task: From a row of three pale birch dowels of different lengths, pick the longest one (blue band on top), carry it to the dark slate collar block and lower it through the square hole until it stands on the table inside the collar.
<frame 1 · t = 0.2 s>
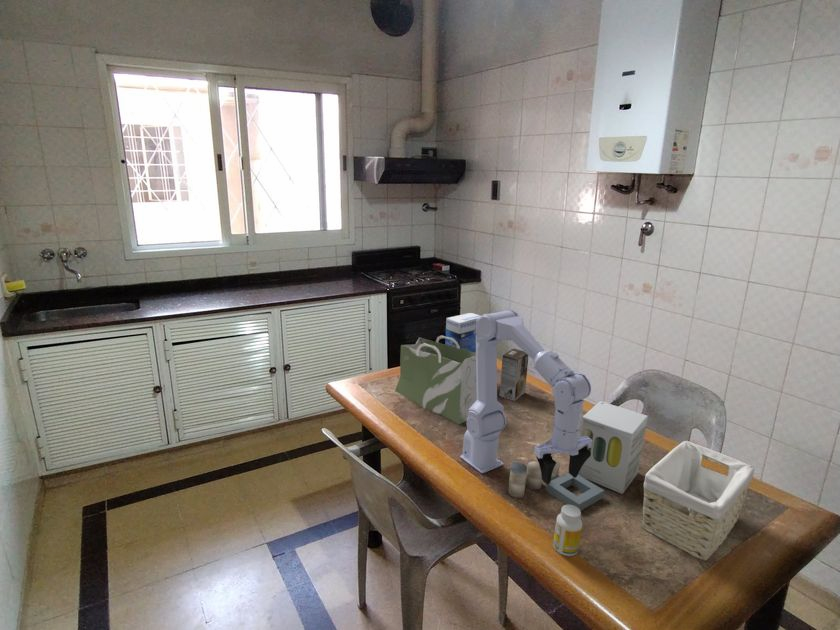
hand: (559, 478, 115), 10 cm above the table, tool pointing down, fingers open, 7 cm apart
string lights box: (461, 381, 191), on the table
supplement box: (605, 474, 135), on the table
long pin: (516, 492, 125), on the table
storage basket: (688, 524, 116), on the table
short pin: (550, 476, 133), on the table
collar block: (574, 494, 125), on the table
coffee box: (512, 395, 181), on the table
grocery bag: (436, 402, 173), on the table
medium pin: (533, 484, 129), on the table
supplement bottle: (565, 548, 107), on the table
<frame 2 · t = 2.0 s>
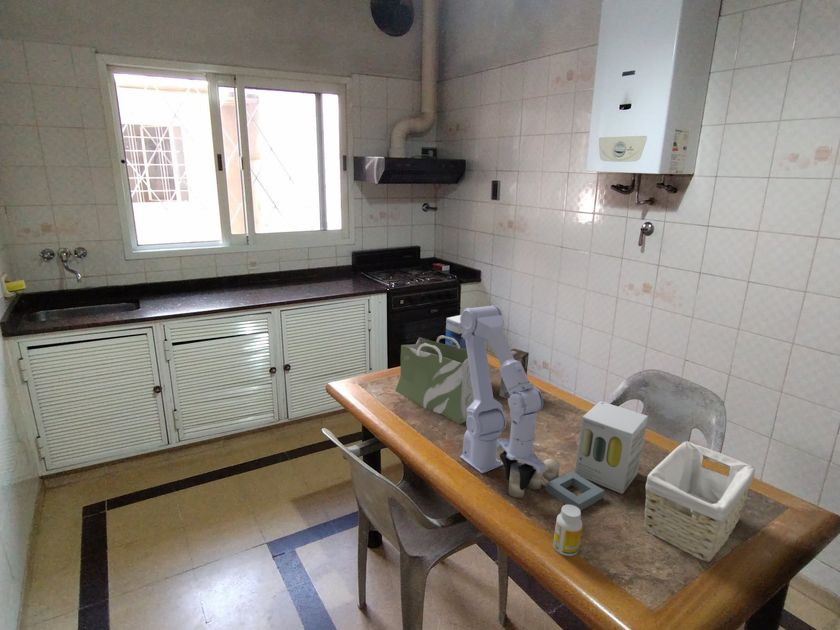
hand: (517, 483, 124), 3 cm above the table, tool pointing down, fingers closed on long pin, 4 cm apart
long pin: (516, 492, 125), on the table, touching gripper
everything else where it was.
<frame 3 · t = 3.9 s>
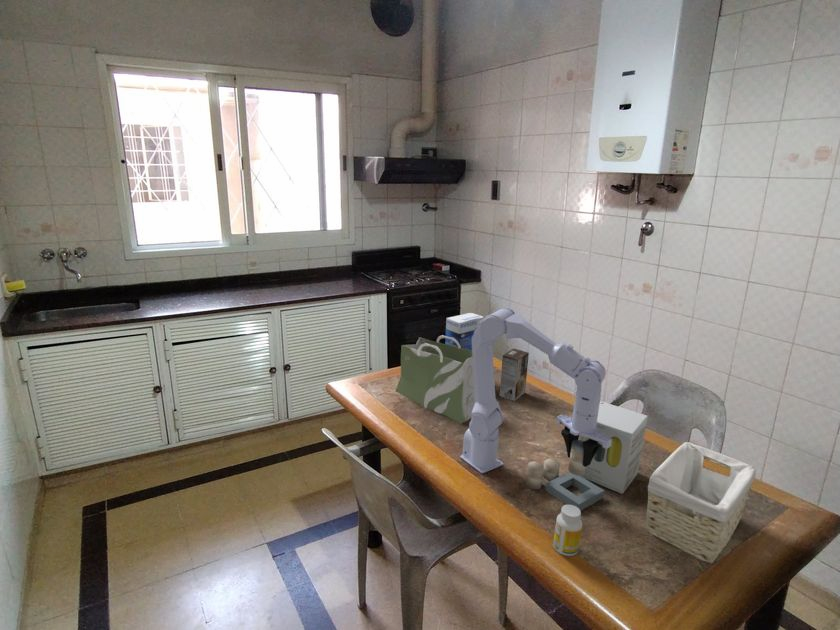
hand: (578, 460, 123), 10 cm above the table, tool pointing down, fingers closed on long pin, 4 cm apart
long pin: (576, 470, 123), point 7 cm above the table, touching gripper
everything else where it was.
when the fingers open (3 cm above the table, at t = 5.8 s): long pin stays where it is, resting in collar block.
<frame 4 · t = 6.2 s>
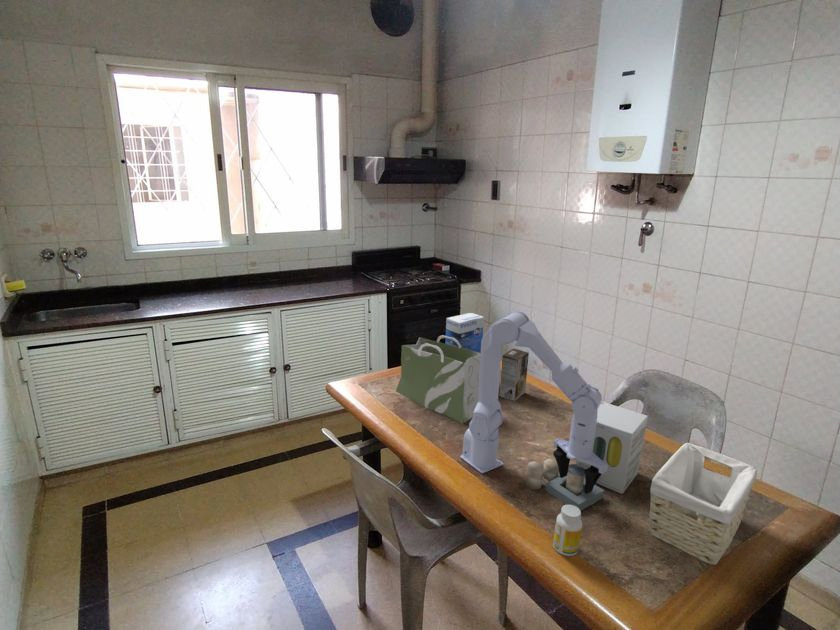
hand: (575, 483, 124), 3 cm above the table, tool pointing down, fingers open, 7 cm apart
long pin: (573, 494, 125), resting in collar block
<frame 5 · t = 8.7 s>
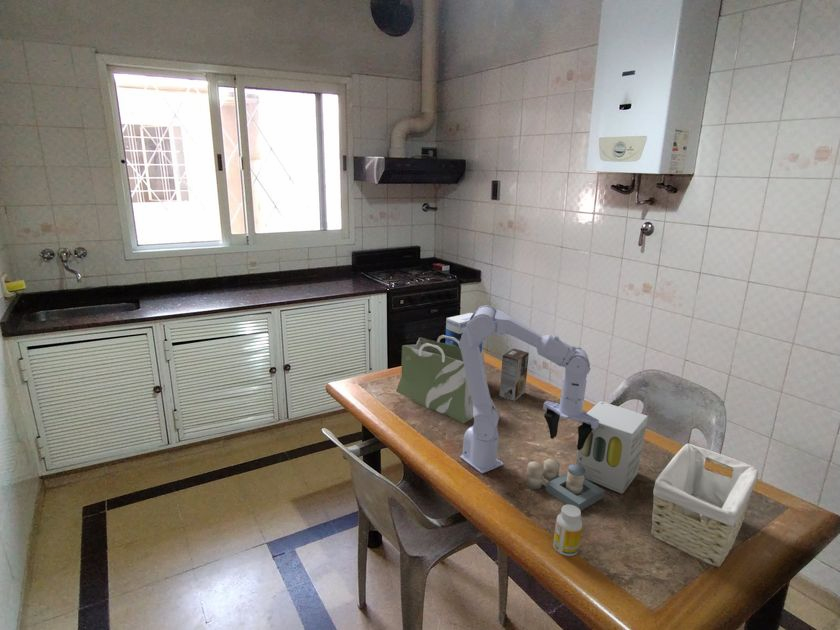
hand: (566, 442, 130), 10 cm above the table, tool pointing down, fingers open, 7 cm apart
at the end: long pin 0.3 cm off-centre on the collar block, point 0.0 cm above the collar block's base; long pin tilted 0°; the gripper is holding nothing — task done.
